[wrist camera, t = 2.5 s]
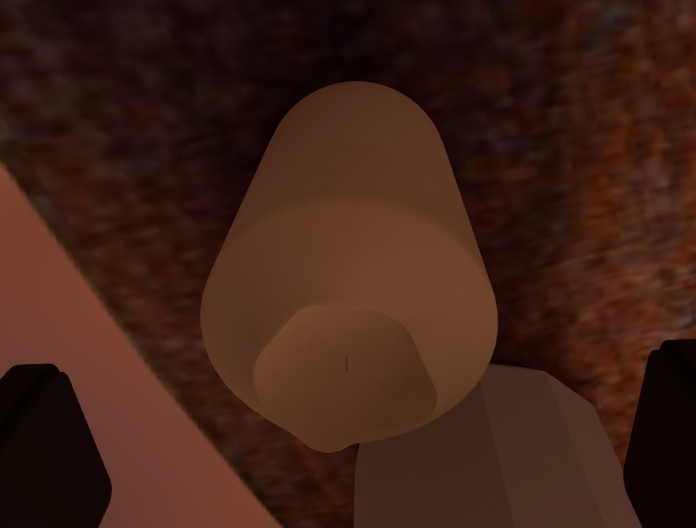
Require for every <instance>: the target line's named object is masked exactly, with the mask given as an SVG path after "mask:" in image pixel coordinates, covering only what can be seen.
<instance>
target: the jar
mask: <svg viewBox="0 0 696 528" xmlns="http://www.w3.org/2000/svg"><path fill="white" fill-rule="evenodd" d="M354 528H642V526H641V524H640V522H639V520H638V518H637V515H636V513H635V511H634V509H633V507H632V504H631V502H630V500H629V498H628V496H627V493H626V490H625V486H624V481H623V469H622V467H621V464H620V462H619V460H618V458H617V456H616V454H615V451H614V449H613V447H612V445H611V443H610V441H609V439H608V436H607V434H606V432H605V430H604V428H603V426H602V423H601V421H600V419H599V417H598V415H597V413H596V411H595V408H594V406H593V405H592V404H591V403H590V402H588V401H587V400H585V399H584V398H582V397H581V396H580V395H578V394H577V393H575V392H574V391H572V390H571V389H570V388H568V387H567V386H565V385H564V384H562V383H561V382H560V381H558V380H557V379H555V378H554V377H552V376H551V375H550V374H548V373H547V372H545V371H540V370H535V369H531V368H526V367H518V366H510V365H502V364H494V363H489V364H488V366H487V368H486V370H485V372H484V374H483V375H482V377H481V378H480V380H479V381H478V382H477V384H476V385H475V387H474V388H473V389H472V390H471V391H470V392H469V393H468V394H467V395H466V397H465V398H464V399H462V400H461V401H460V402H459V403H458V404H456V405H455V406H454V407H453V408H452V409H450V410H449V411H447V412H446V413H444V414H443V415H441V416H440V417H438V418H437V419H435V420H433V421H431V422H429V423H427V424H425V425H423V426H421V427H419V428H417V429H415V430H412V431H409V432H407V433H404V434H401V435H397V436H394V437H390V438H387V439H382V440H377V441H372V442H364V443H360V445H359V450H358V455H357V460H356V465H355V500H354Z"/></svg>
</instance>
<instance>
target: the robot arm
mask: <svg viewBox="0 0 696 528" xmlns="http://www.w3.org/2000/svg"><path fill="white" fill-rule="evenodd" d="M623 481H624V486H625V490H626V493H627V496H628V498H629V500H630V502H631V504H632V507H633V509H634V511H635V513H636V515H637V518H638V520H639V522H640V524H641V526H642V528H696V339H682V340H667V341H664V342H663V343H662V345H661V347H660V349H659V350H653V351H652V352H651V353H650V355H649V357H648V362H647V366H646V371H645V375H644V380H643V384H642V388H641V393H640V397H639V402H638V406H637V411H636V415H635V420H634V424H633V429H632V433H631V438H630V442H629V446H628V451H627V455H626V460H625V464H624V469H623ZM111 493H112V486H111V482H110V478H109V476H108V474H107V471H106V469H105V466H104V464H103V461H102V459H101V456H100V454H99V451H98V449H97V446H96V444H95V441H94V439H93V437H92V434H91V432H90V429H89V427H88V424H87V421H86V419H85V417H84V414H83V412H82V409H81V407H80V404H79V402H78V399H77V397H76V394H75V392H74V390H73V387H72V385H71V382H70V379H69V377H68V376H67V374H65V373H64V372H60V371H59V370H58V368H57V367H56V366H55V365H53V364H25V365H24V364H23V365H15V366H13V367H12V368H10V369H9V370H8V371H7V372H6V373H5V375H4V376H3V377H2V378H1V379H0V528H98V527H99V525H100V523H101V521H102V518H103V516H104V514H105V512H106V510H107V508H108V505H109V503H110V499H111Z"/></svg>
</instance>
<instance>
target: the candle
mask: <svg viewBox="0 0 696 528" xmlns="http://www.w3.org/2000/svg"><path fill="white" fill-rule="evenodd" d="M200 320H201V331H202V337H203V342H204V345H205V348H206V351H207V354H208V357H209V358H210V360H211V362H212V364H213V366H214V368H215V370H216V372H217V373H218V374H219V376H220V377H221V379H222V380H223V382H224V383H225V384H226V385H227V386H228V387H229V389H230V390H231V391H232V392H233V393H234V394H235V395H236V396H237V397H238V398H239V399H241V400H242V401H243V402H244V403H245V404H246V405H247V406H249V407H250V408H251V409H253V410H254V411H256V412H257V413H259V414H260V415H262V416H263V417H265V418H266V419H268V420H269V421H271V422H273V423H275V424H276V425H278V426H280V427H282V428H283V429H285V430H287V431H289V432H290V433H292V434H294V435H295V436H297V437H298V438H299V439H300V440H301V441H302V442H303V443H305V444H306V445H307V446H308V447H310V448H312V449H314V450H316V451H319V452H326V453H330V452H336V451H340V450H342V449H344V448H346V447H348V446H350V445H352V444H356V443H364V442H372V441H377V440H382V439H387V438H390V437H394V436H397V435H401V434H404V433H407V432H409V431H412V430H415V429H417V428H419V427H421V426H423V425H425V424H427V423H429V422H431V421H433V420H435V419H437V418H438V417H440V416H441V415H443V414H444V413H446V412H447V411H449V410H450V409H452V408H453V407H454V406H455V405H456V404H458V403H459V402H460V401H461V400H462V399H464V398H465V397H466V395H467V394H468V393H469V392H470V391H471V390H472V389H473V388H474V387H475V385H476V384H477V382H478V381H479V380H480V378H481V377H482V375H483V374H484V372H485V370H486V368H487V366H488V364H489V362H490V360H491V357H492V354H493V351H494V348H495V345H496V338H497V331H498V312H497V307H496V301H495V296H494V293H493V290H492V287H491V284H490V281H489V278H488V275H487V272H486V269H485V266H484V263H483V260H482V257H481V254H480V251H479V248H478V245H477V242H476V239H475V236H474V233H473V230H472V227H471V224H470V222H469V219H468V216H467V213H466V210H465V207H464V204H463V201H462V198H461V195H460V192H459V189H458V186H457V183H456V180H455V177H454V174H453V171H452V168H451V165H450V162H449V159H448V156H447V153H446V151H445V148H444V145H443V142H442V140H441V137H440V135H439V133H438V131H437V129H436V127H435V125H434V124H433V122H432V121H431V119H430V118H429V117H428V115H427V114H426V113H425V112H424V111H423V110H422V109H421V108H420V107H419V106H418V105H417V104H416V103H415V102H413V101H412V100H411V99H410V98H408V97H407V96H405V95H403V94H402V93H400V92H398V91H396V90H394V89H392V88H389V87H387V86H384V85H380V84H376V83H371V82H363V81H349V82H342V83H336V84H333V85H329V86H326V87H324V88H321V89H319V90H317V91H315V92H313V93H311V94H310V95H308V96H306V97H305V98H303V99H302V100H301V101H299V102H298V103H297V104H296V105H294V106H293V107H292V108H291V110H290V111H289V112H288V113H287V114H286V115H285V116H284V118H283V119H282V121H281V122H280V123H279V125H278V127H277V129H276V131H275V133H274V135H273V137H272V139H271V140H270V142H269V145H268V147H267V149H266V151H265V153H264V156H263V158H262V160H261V162H260V164H259V167H258V169H257V171H256V173H255V175H254V178H253V180H252V182H251V184H250V187H249V189H248V191H247V193H246V195H245V198H244V200H243V202H242V204H241V206H240V209H239V211H238V213H237V215H236V217H235V220H234V222H233V224H232V226H231V228H230V231H229V233H228V235H227V237H226V239H225V242H224V244H223V246H222V248H221V251H220V253H219V255H218V257H217V259H216V262H215V264H214V266H213V268H212V270H211V273H210V275H209V277H208V280H207V283H206V286H205V289H204V292H203V296H202V303H201V309H200Z"/></svg>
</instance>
